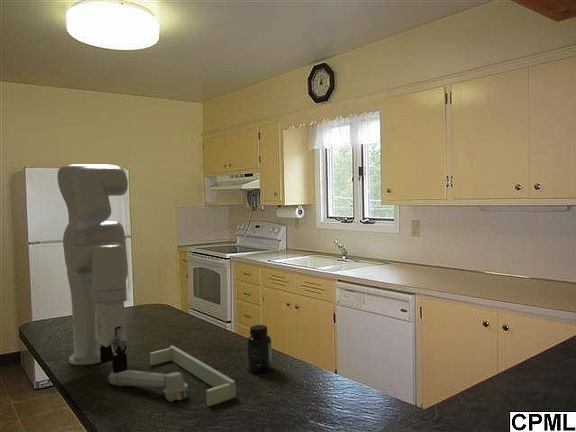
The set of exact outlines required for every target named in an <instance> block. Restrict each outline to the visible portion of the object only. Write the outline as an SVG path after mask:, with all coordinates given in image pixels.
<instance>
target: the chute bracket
mask: <svg viewBox="0 0 576 432" xmlns="http://www.w3.org/2000/svg"><path fill="white" fill-rule="evenodd" d="M149 361H150V362H149V363H150V366H155V365H159V364H163V363H166V362H173V363H174V364H176V365H178V366H179V367H181V368H182V369H184V370H186V371H187V372H189V373H190V374H192V375H194V376H195V377H197V378H198V379H200V380H201V381H203V382H204V383H206V384H208V385H210V388H207V389H205V396H206V406H207V407H210V406H214V405H217V404H220V403H222V402H226V401H229V400H231V399H235V398H236V397H237V394H236V393H237V392H236V380H234V379H233V378H230V377H229V376H227V375H225V374H224V373H221V371H219V370H216V369H214V368H213V367H211V366H210V365H208V364H206V363H204V362H202V361H201V360H199V359H197V358H196V357H194V356H192V355H190V354H189V353H187V352H185V351H184V350H182V349H180V348H178V347H176V346H174V345H170V346H169V347H168V348H165V349H160V350H156V351H153V352H152V351H151V352H149Z"/></svg>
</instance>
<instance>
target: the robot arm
mask: <svg viewBox="0 0 576 432" xmlns="http://www.w3.org/2000/svg"><path fill="white" fill-rule="evenodd" d="M57 185H58V188H59V192H60V194H61V196H62V198H63V201H64V202H65V204H66V209H67V214H68V224H67V225H66V227H65V230H64V233H63V236H62V237H63V238H62V246H63V254H64V262H65V266H66V275H67V279H68V285H69V290H70V295H71V296H70V298H71V313H72V314H71V317H72V331H73V333H72V336H73V351H74V352H73V353H72V354H71V355H70V356H69V357H68V362H69V364H71V365H76V366H87V365H89V366H90V365H95V364H98V363H101V364H105V363H110V362H112V363H111V364H112V365H111V366H112V370H113V373H119V372H123V371H126V370H128V355H127V354H128V352H127V351H128V350H127V348H128V347H127V340H128V335H127V334H128V329H127V328H128V327H127V320H126V319H127V318H126V308H125V302H127V300H128V295H127V280H128V278H129V277H128V276H129V265H128V254H127V242H126V233H125V229H124V227H123V224H122V223H121V222H119V221H116V220H108V219H109V218H110V217H111V215H112V207H111V201H110V198H109V196H111V197H113V196H115V197H116V196H118V197H119V196H124V195H125V194H126V193H127V190H128V188H129V181H128V176H127V173H126V172H125V170H124V169H123V168H122V167H121V166H119V165H115V164H88V163H83V164H82V163H79V164H75V163H74V164H66V165H62V166H61V167H60V168H59V169H58V171H57Z"/></svg>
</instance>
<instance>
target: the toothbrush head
mask: <svg viewBox="0 0 576 432" xmlns="http://www.w3.org/2000/svg"><path fill="white" fill-rule="evenodd" d="M106 380H107V383H108V384H110V385H114V386H119V387H122V386H124V387H125V386H127V387H128V386H130V387H131V386H132V387H150V388H151V387H153V388H154V387H155V388H156V387H157V388H162V393H164V395H165V400H167V401H168V402H174V401H175V400H178V401H182V400H184V399H186V398H188V395H189V394H188V389H189V384H188V383H186V382H185V381H184V377H183V374H182V373H181V372H178V371H174V372H170V373H161V372H151V371H144V370H142V371H141V370H132V369H131V370H130V369H127V370H126V371H123V372H119V373H113V369H111V370H109V372H108V374H107V379H106Z"/></svg>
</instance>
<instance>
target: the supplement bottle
mask: <svg viewBox="0 0 576 432" xmlns="http://www.w3.org/2000/svg"><path fill="white" fill-rule="evenodd" d="M249 334H250V336H248V338H247V340H246V352H247V353H246V356H247V357H246V358H247V370H248V371H249V372H250V373H253V374H265V373H268V372H270V371H271V370H272V368H273V357H272V354H273V353H272V351H273V350H272V338H271V337H270V335H268V334H269V333H268V326H267V325H264V324H256V325H251V326H250V328H249Z"/></svg>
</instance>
